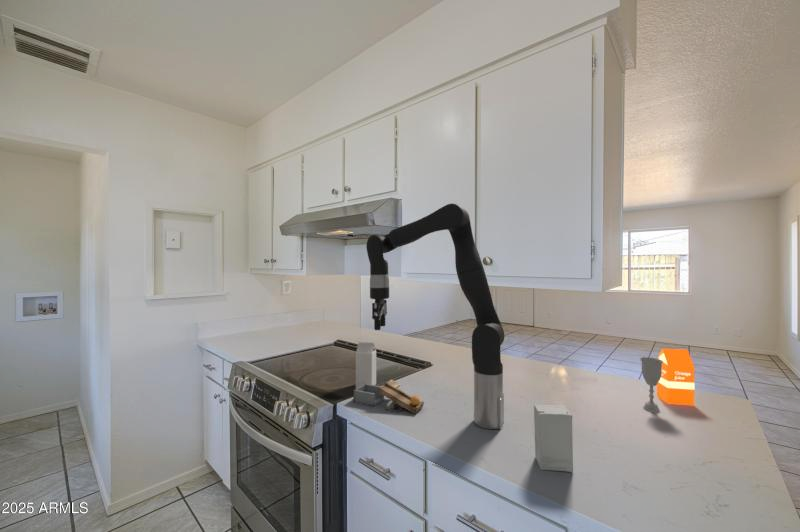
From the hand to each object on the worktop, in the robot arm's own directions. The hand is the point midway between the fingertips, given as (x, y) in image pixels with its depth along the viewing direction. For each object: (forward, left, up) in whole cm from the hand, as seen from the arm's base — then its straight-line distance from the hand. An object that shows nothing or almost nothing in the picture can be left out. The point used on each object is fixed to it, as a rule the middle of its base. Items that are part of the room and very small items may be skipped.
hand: (380, 327), depth 129 cm
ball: (-16, +3, -25) cm, 29 cm away
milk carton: (+12, -9, -28) cm, 32 cm away
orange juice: (-103, -50, -28) cm, 118 cm away
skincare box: (-62, +17, -28) cm, 70 cm away
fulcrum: (-9, +3, -28) cm, 29 cm away
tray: (+3, +3, -28) cm, 28 cm away
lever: (-10, 0, -25) cm, 27 cm away
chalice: (-93, -36, -28) cm, 103 cm away
